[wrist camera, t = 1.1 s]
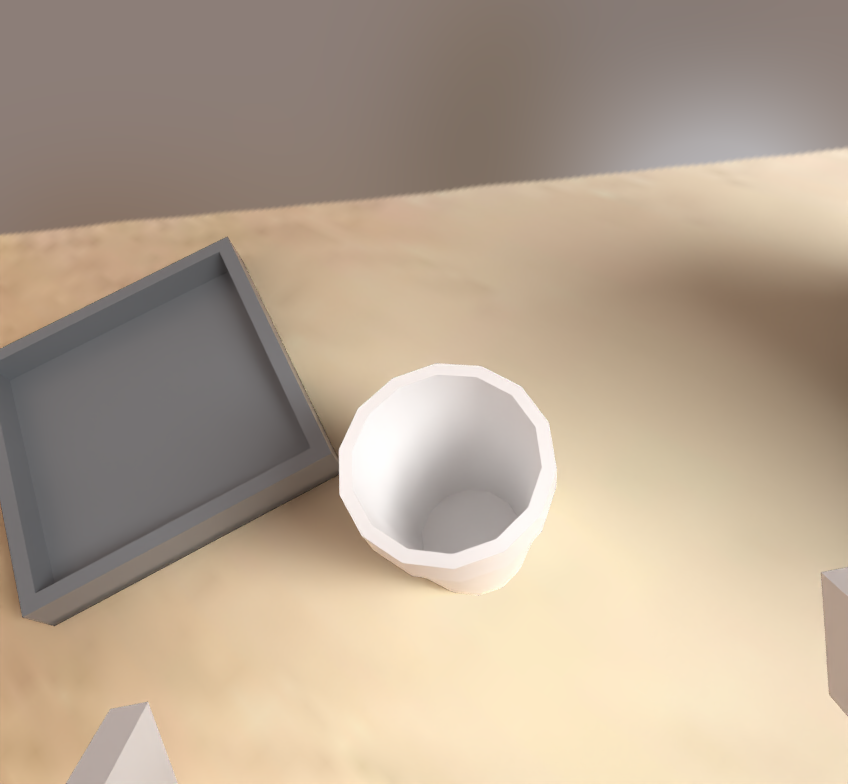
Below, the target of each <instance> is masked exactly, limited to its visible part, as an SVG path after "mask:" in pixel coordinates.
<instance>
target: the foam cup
mask: <svg viewBox="0 0 848 784" xmlns="http://www.w3.org/2000/svg"><path fill="white" fill-rule="evenodd" d="M556 475H557V467H556V461H555V456H554V450H553V444H552V438H551V432H550V426H549V422H548V421H547V419H546V418H545V417H544V415H543V414H542V413H541V411H540V410H539V409H538V407H537V406H536V405H535V403H534V402H533V401H532V400H531V398H530V397H529V396H528V394H527V393H526V392H525V390H524V389H523V388H522V386H520V385H518V384H516V383H514V382H512V381H510V380H508V379H506V378H504V377H502V376H500V375H498V374H496V373H494V372H492V371H490V370H488V369H486V368H484V367H482V366H474V365H456V364H439V363H435V364H432V365H429V366H427V367H424V368H421V369H418V370H415V371H412V372H409V373H406V374H403V375H400V376H397V377H395V378H392V379H391V380H390V381H389V382H388V383H386V384H385V385H384V386H383V387H382V388H381V389H380V390H378V391H377V392H376V393H375V394H374V395H373V396H372V397H371V398H369V399H368V400H367V401H366V402H365V403H364V404H363V405H361V406H360V407H359V408H358V410H357V412H356V414H355V416H354V418H353V420H352V422H351V425H350V427H349V429H348V431H347V433H346V435H345V437H344V440H343V442H342V444H341V446H340V448H339V495H340V497H341V498H342V500H343V502H344V504H345V506H346V508H347V510H348V511H349V513H350V515H351V517H352V519H353V521H354V523H355V525H356V526H357V528H358V530H359V532H360V534H361V536H362V537H363V538H364V539H365V540H366V542H367V543H368V544H369V545H370V546H371V548H372V549H373V550H374V551H376V552H377V553H379V554H380V555H382V556H383V557H385V558H386V559H388V560H389V561H390V562H392V563H393V564H395V565H396V566H398V567H399V568H401V569H402V570H404V571H405V572H407V573H408V574H410V575H411V576H415V577H423V578H427V579H429V580H431V581H433V582H435V583H436V584H438V585H440V586H442V587H444V588H446V589H448V590H450V591H452V592H455V593H462V594H470V595H478V596H479V595H482V594H485V593H488V592H491V591H494V590H496V589H499V588H502V587H503V586H504V585H505V584H506V583H507V582H508V581H509V580H510V579H511V578H512V577H513V576H514V575H515V574H516V573H517V572H518V571H519V570H520V568H521V566H522V564H523V562H524V559H525V557H526V555H527V553H528V550H529V548H530V546H531V544H532V541H533V540H534V539H535V538H536V537H537V536H538V535H539V534H540V533H541V532H542V529H543V526H544V523H545V520H546V517H547V514H548V511H549V508H550V505H551V502H552V499H553V496H554V493H555V490H556Z"/></svg>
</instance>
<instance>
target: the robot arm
mask: <svg viewBox="0 0 848 784" xmlns="http://www.w3.org/2000/svg"><path fill="white" fill-rule="evenodd" d="M821 580H822V595H823V611H824V626H825V641H826V657H827V672H828V687H829V695H830V696H831V697H832V699H833V700H834V701H835V702H836V703H837V704H838V706H839V707H840V708H841V709H842V710H843V711H844V713H845V714H846V715H847V716H848V567H846V568H841V569H835V570H830V571H825V572H821ZM66 784H178V782H177V780H176V777H175V774H174V771H173V769H172V766H171V763H170V760H169V758H168V755H167V752H166V749H165V747H164V744H163V741H162V739H161V736H160V733H159V730H158V728H157V725H156V722H155V719H154V717H153V714H152V711H151V708H150V706H149V703H148V702H144V703H139V704H134V705H129V706H124V707H118V708H113V709H110V710H109V712H108V714H107V715H106V717H105V719H104V720H103V722H102V724H101V725H100V727H99V729H98V730H97V732H96V734H95V735H94V737H93V739H92V741H91V742H90V744H89V746H88V747H87V749H86V751H85V752H84V754H83V756H82V757H81V759H80V761H79V762H78V764H77V766H76V767H75V769H74V771H73V772H72V774H71V776H70V778H69V779H68V781H67V783H66Z"/></svg>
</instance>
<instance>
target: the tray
mask: <svg viewBox="0 0 848 784" xmlns="http://www.w3.org/2000/svg"><path fill="white" fill-rule="evenodd" d="M338 474H339V459H338V457H337V455H336V453H335V451H334V448H333V446H332V444H331V442H330V440H329V438H328V436H327V434H326V432H325V430H324V428H323V426H322V424H321V422H320V420H319V418H318V415H317V413H316V411H315V409H314V407H313V405H312V403H311V401H310V399H309V397H308V395H307V393H306V391H305V389H304V387H303V384H302V382H301V380H300V378H299V376H298V374H297V372H296V370H295V368H294V366H293V364H292V362H291V360H290V358H289V356H288V353H287V351H286V349H285V347H284V345H283V343H282V341H281V339H280V337H279V335H278V333H277V331H276V329H275V327H274V325H273V322H272V320H271V318H270V316H269V314H268V312H267V310H266V308H265V306H264V304H263V302H262V300H261V298H260V296H259V294H258V291H257V289H256V287H255V285H254V283H253V281H252V279H251V277H250V275H249V273H248V271H247V269H246V267H245V265H244V263H243V261H242V259H241V258H240V256H239V254H238V253H237V251H236V249H235V248H234V246H233V245H232V243H231V241H230V240H229V238H228V237H226V238H224V239H222V240H220V241H218V242H215V243H213V244H211V245H209V246H207V247H205V248H203V249H201V250H199V251H197V252H195V253H193V254H191V255H189V256H187V257H185V258H183V259H181V260H179V261H177V262H175V263H173V264H171V265H169V266H167V267H165V268H163V269H161V270H159V271H157V272H155V273H153V274H151V275H149V276H147V277H145V278H143V279H141V280H138V281H136V282H134V283H132V284H130V285H128V286H126V287H124V288H122V289H120V290H118V291H116V292H114V293H112V294H110V295H108V296H106V297H104V298H102V299H100V300H98V301H96V302H94V303H92V304H90V305H88V306H86V307H84V308H82V309H80V310H78V311H76V312H74V313H72V314H70V315H68V316H66V317H64V318H62V319H59V320H57V321H55V322H53V323H51V324H49V325H47V326H45V327H43V328H41V329H39V330H37V331H35V332H33V333H31V334H29V335H27V336H25V337H23V338H21V339H19V340H17V341H15V342H13V343H11V344H9V345H7V346H5V347H3V348H1V349H0V503H1V508H2V513H3V518H4V523H5V529H6V534H7V539H8V544H9V550H10V555H11V560H12V565H13V571H14V576H15V581H16V586H17V592H18V597H19V602H20V607H21V613H22V617H23V618H27V619H30V620H34V621H38V622H42V623H45V624H49V625H53V626H55V625H57V624H59V623H61V622H63V621H65V620H67V619H69V618H70V617H72V616H74V615H76V614H78V613H80V612H82V611H84V610H85V609H87V608H89V607H91V606H93V605H95V604H97V603H99V602H100V601H102V600H104V599H106V598H108V597H110V596H112V595H114V594H115V593H117V592H119V591H121V590H123V589H125V588H127V587H129V586H130V585H132V584H134V583H136V582H138V581H140V580H142V579H144V578H145V577H147V576H149V575H151V574H153V573H155V572H157V571H159V570H160V569H162V568H164V567H166V566H168V565H170V564H172V563H174V562H175V561H177V560H179V559H181V558H183V557H185V556H187V555H189V554H190V553H192V552H194V551H196V550H198V549H200V548H202V547H204V546H205V545H207V544H209V543H211V542H213V541H215V540H217V539H218V538H220V537H222V536H224V535H226V534H228V533H230V532H232V531H233V530H235V529H237V528H239V527H241V526H243V525H245V524H247V523H248V522H250V521H252V520H254V519H256V518H258V517H260V516H262V515H263V514H265V513H267V512H269V511H271V510H273V509H275V508H277V507H278V506H280V505H282V504H284V503H286V502H288V501H290V500H292V499H293V498H295V497H297V496H299V495H301V494H303V493H305V492H307V491H308V490H310V489H312V488H314V487H316V486H318V485H320V484H322V483H323V482H325V481H327V480H329V479H331V478H333V477H335V476H337V475H338Z"/></svg>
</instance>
